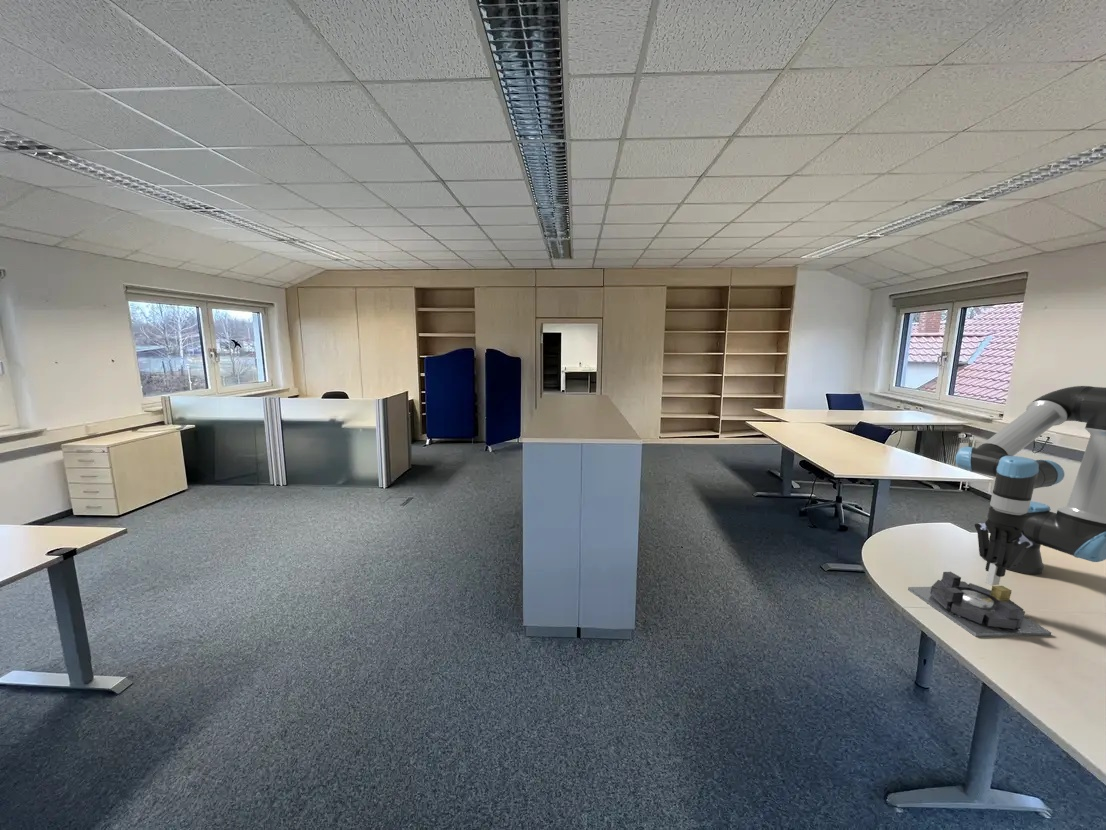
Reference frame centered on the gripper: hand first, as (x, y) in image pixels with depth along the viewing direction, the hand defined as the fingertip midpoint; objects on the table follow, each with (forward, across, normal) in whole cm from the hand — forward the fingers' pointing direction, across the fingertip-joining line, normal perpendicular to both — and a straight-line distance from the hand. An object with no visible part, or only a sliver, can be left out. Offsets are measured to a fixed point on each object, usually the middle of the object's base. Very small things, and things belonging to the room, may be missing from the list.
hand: (992, 583), depth 124 cm
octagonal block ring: (+5, -2, +8) cm, 10 cm away
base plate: (+7, -2, +8) cm, 11 cm away
